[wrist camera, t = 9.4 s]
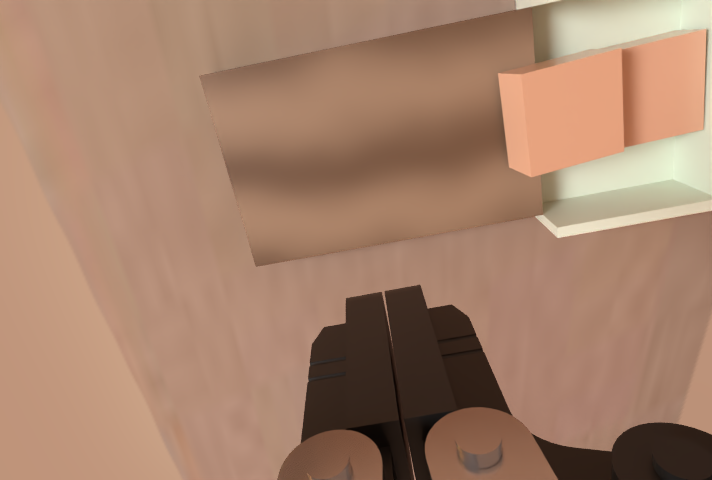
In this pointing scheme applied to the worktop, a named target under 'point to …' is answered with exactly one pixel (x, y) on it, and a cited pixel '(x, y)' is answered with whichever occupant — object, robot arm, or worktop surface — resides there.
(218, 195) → the worktop surface
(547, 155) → the tile
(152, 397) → the worktop surface
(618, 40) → the tray
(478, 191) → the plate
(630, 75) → the tile
